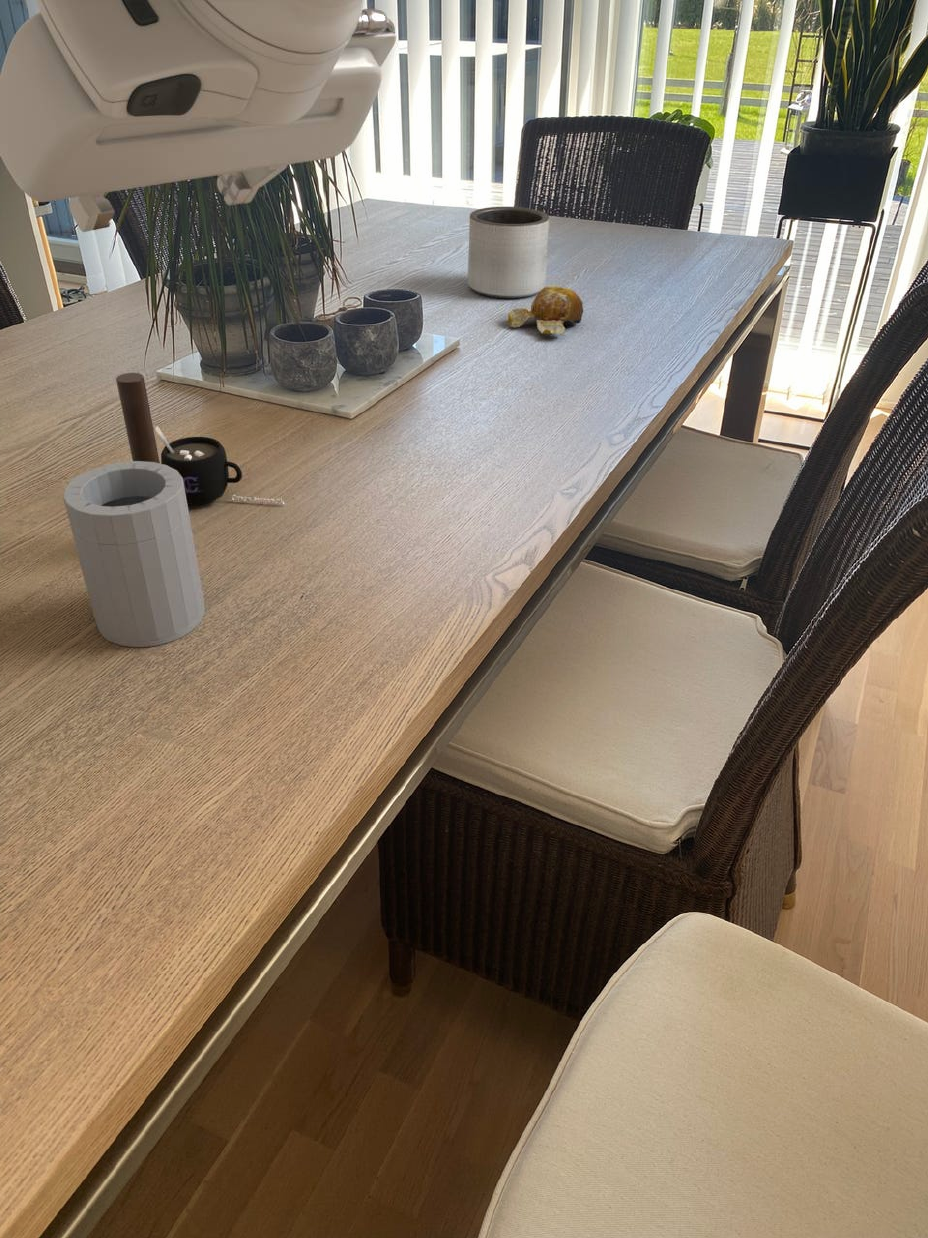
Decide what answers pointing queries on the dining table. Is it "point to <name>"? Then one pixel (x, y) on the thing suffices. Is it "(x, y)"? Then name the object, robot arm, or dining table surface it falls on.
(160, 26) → the robot arm
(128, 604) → the gray cylindrical container
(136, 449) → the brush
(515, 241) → the planter
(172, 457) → the mug
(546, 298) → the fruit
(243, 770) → the dining table surface
